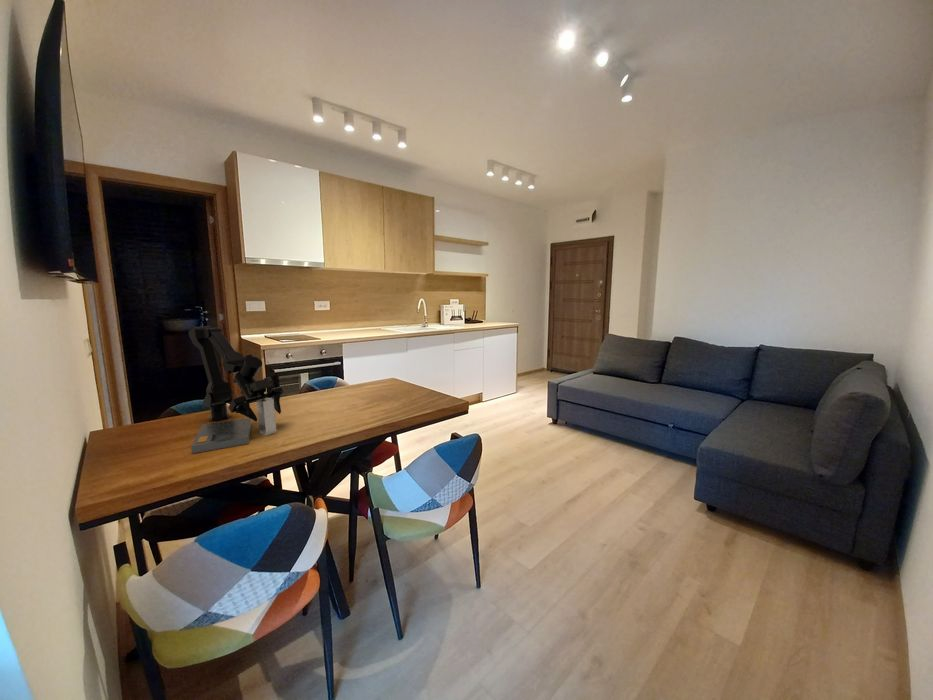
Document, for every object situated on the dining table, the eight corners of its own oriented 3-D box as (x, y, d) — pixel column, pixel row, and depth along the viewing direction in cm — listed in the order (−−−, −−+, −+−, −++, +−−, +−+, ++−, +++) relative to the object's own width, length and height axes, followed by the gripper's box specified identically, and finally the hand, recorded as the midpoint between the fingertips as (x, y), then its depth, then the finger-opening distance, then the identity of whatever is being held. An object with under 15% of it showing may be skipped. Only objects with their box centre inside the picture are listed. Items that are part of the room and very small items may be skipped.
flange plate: (202, 431, 137) (202, 424, 136) (251, 423, 144) (250, 417, 144) (192, 453, 118) (190, 445, 117) (248, 443, 125) (247, 436, 125)
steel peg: (259, 433, 134) (256, 400, 132) (269, 430, 138) (266, 397, 136) (266, 435, 132) (263, 401, 130) (276, 432, 136) (273, 399, 134)
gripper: (229, 376, 125) (251, 411, 122) (279, 366, 141) (299, 397, 138) (219, 395, 130) (240, 429, 127) (268, 383, 146) (288, 413, 143)
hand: (268, 416), depth 133 cm, fingers open, 9 cm apart
